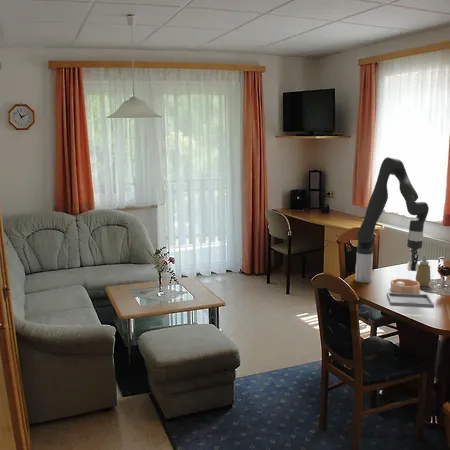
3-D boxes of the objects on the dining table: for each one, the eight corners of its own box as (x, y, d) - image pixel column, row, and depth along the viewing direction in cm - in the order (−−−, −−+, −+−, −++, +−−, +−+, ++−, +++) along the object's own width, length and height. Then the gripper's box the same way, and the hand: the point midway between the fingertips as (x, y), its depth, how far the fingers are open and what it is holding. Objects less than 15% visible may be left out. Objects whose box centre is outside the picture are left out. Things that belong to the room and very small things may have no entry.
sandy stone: (408, 270, 273) (408, 263, 273) (407, 268, 277) (407, 261, 276) (418, 271, 272) (418, 264, 272) (416, 269, 276) (417, 262, 275)
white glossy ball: (396, 290, 283) (396, 283, 282) (395, 288, 287) (395, 281, 287) (404, 290, 282) (405, 284, 282) (403, 288, 287) (403, 281, 286)
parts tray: (390, 305, 261) (390, 302, 261) (386, 295, 277) (386, 292, 276) (433, 308, 258) (434, 304, 257) (427, 297, 273) (427, 294, 273)
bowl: (393, 294, 279) (393, 285, 278) (389, 286, 293) (389, 278, 292) (421, 296, 276) (421, 287, 275) (415, 287, 290) (416, 279, 289)
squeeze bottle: (429, 283, 297) (431, 254, 294) (430, 288, 290) (432, 257, 286) (415, 282, 300) (417, 253, 297) (415, 286, 292) (417, 256, 289)
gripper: (406, 235, 279) (403, 265, 282) (409, 241, 265) (406, 272, 269) (420, 236, 277) (417, 266, 281) (424, 242, 264) (421, 273, 267)
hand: (412, 269), depth 275 cm, fingers closed on sandy stone, 4 cm apart
